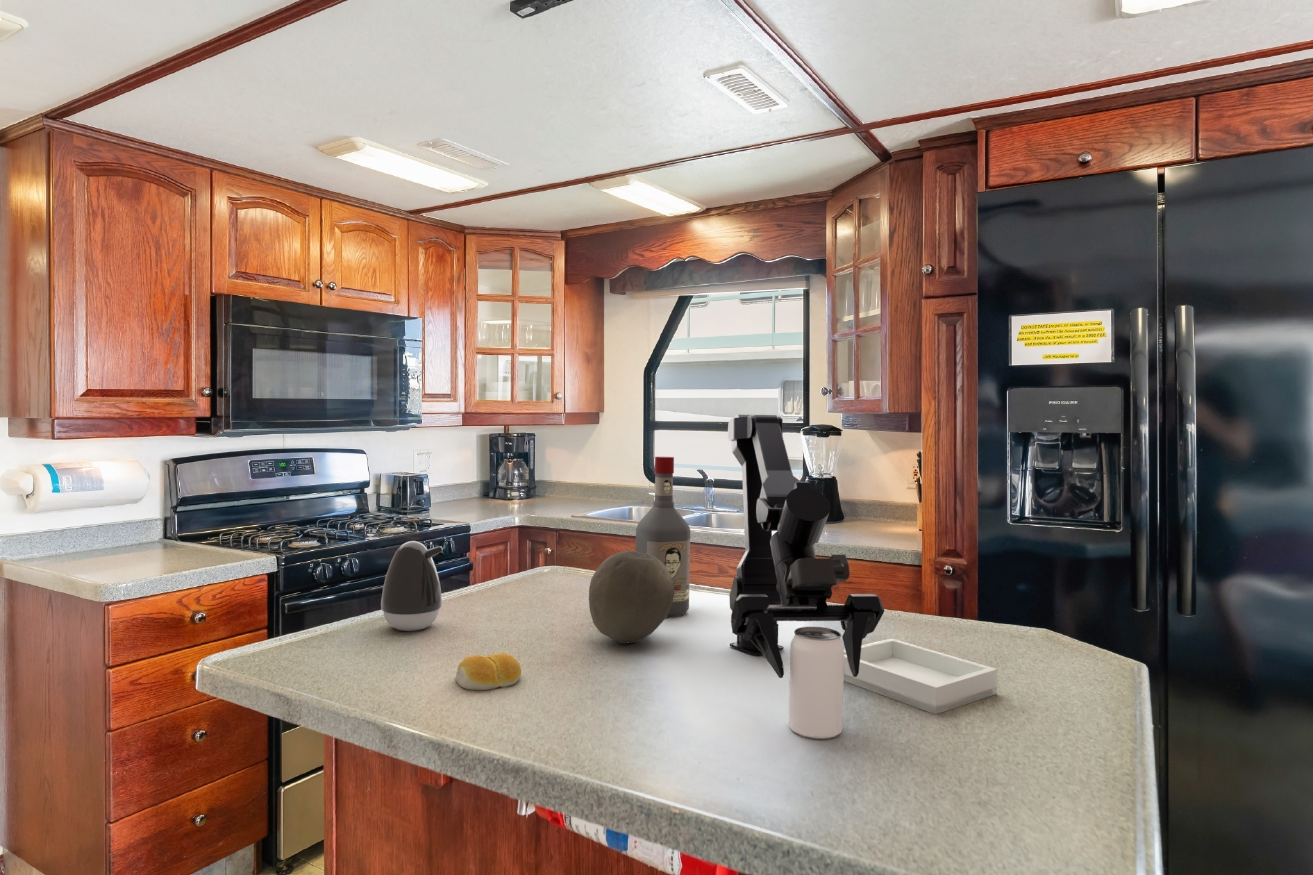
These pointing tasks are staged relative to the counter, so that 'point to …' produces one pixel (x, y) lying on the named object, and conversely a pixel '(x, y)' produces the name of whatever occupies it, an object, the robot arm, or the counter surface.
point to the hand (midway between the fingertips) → (819, 675)
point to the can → (816, 683)
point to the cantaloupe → (630, 596)
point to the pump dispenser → (412, 588)
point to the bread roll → (488, 672)
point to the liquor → (667, 535)
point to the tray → (921, 676)
